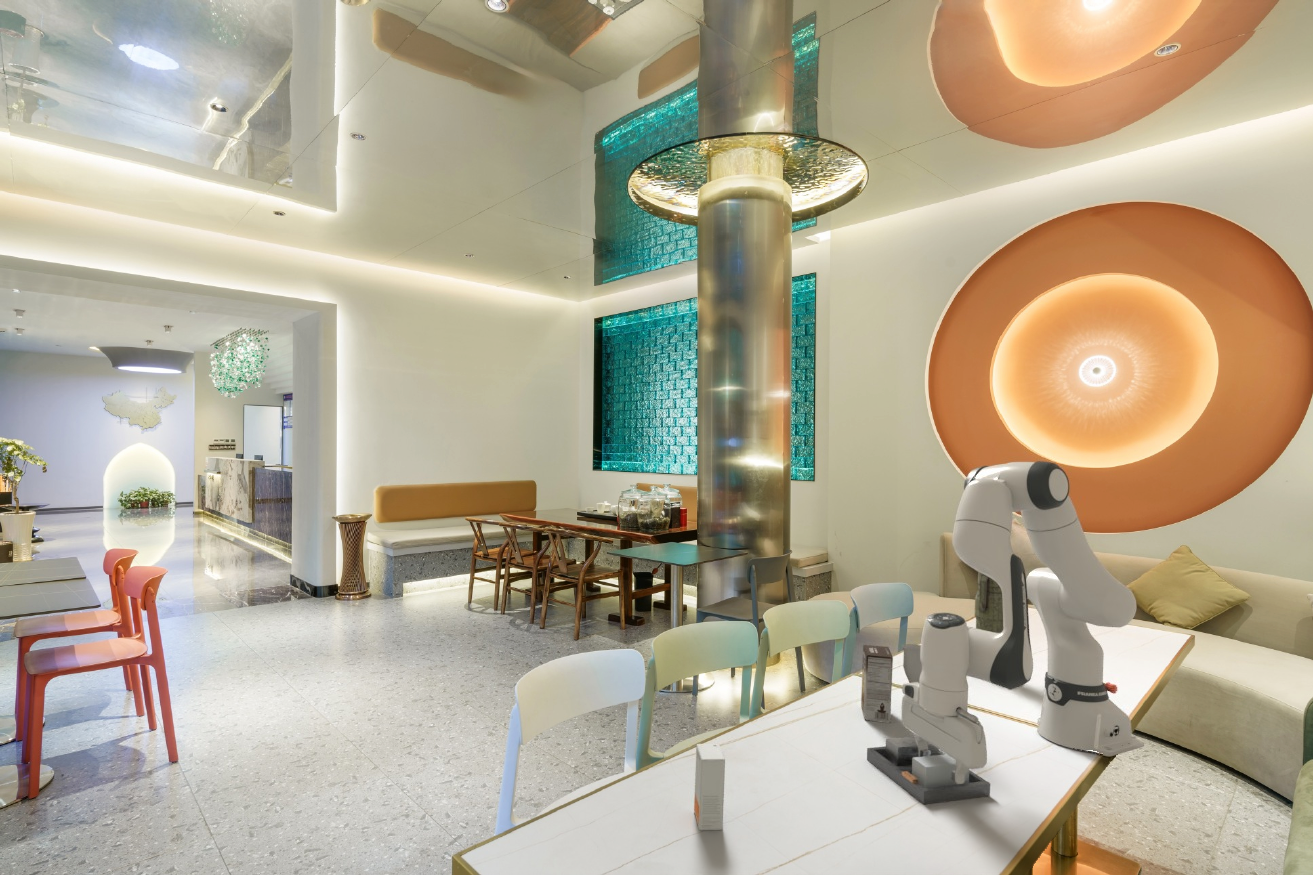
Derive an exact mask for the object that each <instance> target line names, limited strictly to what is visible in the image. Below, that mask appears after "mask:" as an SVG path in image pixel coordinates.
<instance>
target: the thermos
mask: <svg viewBox="0 0 1313 875" xmlns="http://www.w3.org/2000/svg"><path fill="white" fill-rule="evenodd" d="M977 572H978V573H977V584H978V586H977V587H978V588H977V592H976V594H975V597H974V618H975V628H976V629H981V630H985V631H990V632H995V633H1001V632H1002V631H1003V629H1004V628H1003V600H1002V591H1001V588H1000V586H999V585H998V583H997V582H996V581H994V580H993V579H991V578H990V577H988V576H986V575H984V574H982V573H980V572H979V571H977Z"/></svg>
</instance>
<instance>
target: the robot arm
mask: <svg viewBox="0 0 1313 875" xmlns="http://www.w3.org/2000/svg"><path fill="white" fill-rule="evenodd" d="M1069 480H1070V479H1069V477H1068V475H1067V473H1066V471H1065V470H1064V469H1063V468H1062V467H1060V466H1059V465H1058V464H1056V462H1055V463H1054V462H1049V461H1046V460H1045V461H1044V460H1043V461H1042V460H1039V461H1035V462H1034V461H1012V462H1007V463H1002V464H1001V463H1000V464H995V465H983V466H979V467H977V468H974V469H972V470H971V471H970V472H969V473H968V474H967V476H966V478H965V480H964V483H963V492H962V495H961V498H960V501H959V504H958V506H957V511H956V514H955V520H954V524H953V530H952V537H951V538H952V540H951V542H952V544H951V545H952V548H953V550H954V553H955V554H956V555H957V557H958V559H960V560H961V561H962V562H963V563H964V564H965V565H967V566H968V567H970V568H971V569H973V570H975V571H976V572H978V571H979V572H980V573H982V574H984V575H986V576H988V577H990V578H991V579H993V580H994V581H996V582H997V583H998V585H999V586H1000V588H1001V591H1002V600H1003V628H1004V629H1003V631H1002V632H1001V633H995V632H990V631H985V630H981V629H976V627H972V626H968V624H967V621H966V619H965V618H964V617H963V616H961V615H958V614H955V613H951V612H936V613H932V614H929V615H927V617H926V618H925V620H924V623H923V627H922V628H923V629H922V631H921V632H922V633H921V639H920V640H921V641H920V645H921V649H920V660H921V664H922V671H921V674H920V678H919V682H913V683H909V682H907V683H902V685H901V689H902V690H901V691H902V694H903V697H902V699H901V722H902V725H903V727H904V728H905V729H908V730H909V731H910V732H912V733H913V734H914V736H915V740H916V743H917V746H918V749H919V755H918V756H919V757H924V756H930V755H931V751H930V750H928V746H927V742H929V743H930V744H932V745H933V746H935V747H936V748H938V749H939V750H940V751H941V752H943V753H944V754H947V755H949V756H950V757H952V758H953V759H955V760H956V765H957V766H958V767H957V769H956V771H952V773H951V775H952V777H951V779H952V780H953V781H955V782H956V783H957V784H963V783H964V781H965V774H966V772H967V771H968V769H969V770H977V769H983V768H984V767H985V766H986V765H987V764H988V763H987V761H988V754H987V752H988V751H987V741H986V734H985V730H984V726H983V725H982V723H981V722H980V720H979V718H978V717H977V716H976V715H975V714H972V713H969V712H968V705H969V703H968V702H969V683H968V680H967V677H970V678H974V679H977V680H981V681H985V682H989V683H991V684H993V685H996V686H999V687H1002V688H1004V689H1006V690H1010V691H1011V690H1014V689H1018V688H1020V687H1022V686H1025V684H1027V683H1029V682H1030V681H1031V679H1032V674H1033V672H1034V659H1033V652H1032V646H1031V640H1030V639H1031V638H1030V637H1031V635H1030V622H1029V619H1030V618H1029V602H1028V601H1030V603H1031V604H1032V605H1033V606H1034V608H1035V609H1036V612H1037V613H1038V615H1039V617H1040V620H1041V622H1042V625H1043V629H1044V631H1045V636H1046V641H1047V671H1046V672H1045V676H1044V690H1045V691H1044V693H1043V699H1042V704H1041V712H1040V717H1039V718H1038V719H1037V724H1038V726H1037V732H1038V734H1039V735H1040V736H1042V738H1044V739H1046V740H1048V741H1050V742H1052V743H1054V744H1057V745H1060V746H1063V747H1066V748H1069V749H1073V748H1075V749H1074V750H1077V749H1082V750H1093V751H1097V752H1099V753H1103V755H1102V756H1105V757H1113V756H1117V755H1120V754H1123V753H1127V752H1130V751H1133V750H1137V749H1141V748H1143V747H1145V741H1144V740H1142V739H1141V738H1140V737H1138V736H1136V735H1135V734H1133V731H1132V722H1131V719H1130V717H1129V715H1128V714H1127V713H1126V712H1124V710H1122V709H1121V708H1120V707H1119V706H1118V705H1116V703H1115V702H1113V701H1112V700H1111V699H1110V697H1109V694H1108V692H1110V693H1111V694H1113V695H1114V694H1117V692H1118V688H1119V687H1118V686H1117V685H1116V684H1113V683H1110V682H1106V683H1105V682H1104V660H1105V659H1104V657H1105V656H1104V654H1105V653H1104V649H1103V647H1102V645H1101V644H1100V643H1099V641H1098V640H1096V639H1095V637H1094V636H1093V635H1092V633H1091V631H1090V630H1089V627H1088V625H1087V624H1090V625H1093V626H1097V627H1103V628H1104V627H1105V628H1106V627H1107V628H1123V627H1125V626H1127V625H1128V624H1129V623H1131V622H1132V620H1133V619H1134V617H1135V616H1136V612H1137V599H1136V597H1135V595H1134V593H1133V591H1132V590H1131V589H1130V588H1129V587H1128V586H1126V585H1124V584H1123V583H1122V582H1121V581H1120V580H1118V579H1117V578H1115V577H1114V575H1112V574H1111V572H1109V570H1108V569H1107V568H1106V567H1105V566H1104V564H1103V563H1102V562H1101V561H1100V559H1099V558H1098V557H1097V555H1096V554H1095V552H1094V551H1093V550H1092V547H1091V546H1090V544H1089V542H1088V540H1087V537H1086V535H1085V532H1084V529H1083V527H1082V525H1081V524H1082V523H1081V522H1080V519H1079V517H1078V514H1077V510H1076V507H1075V506H1074V504H1073V501H1072V499H1071V497H1070V495H1069V494H1070V481H1069ZM1017 512H1020V514H1021V518H1022V522H1023V526H1024V528H1025V530H1026V534H1027V536H1028V540H1029V542H1030V545H1031V547H1032V550H1033V553H1034V555H1035V556H1036V558H1037V559H1038V561H1040V563H1041V564H1042V565H1045V566H1046V567H1037V568H1035V569H1033V570H1031V571H1030V572H1029V573H1028V575H1027V576H1026V570H1025V567H1024V566H1025V565H1024V563H1023V561H1022V559H1021V557H1019V556H1018V555H1016V554H1015V553H1014V551H1013V548H1012V544H1011V535H1012V528H1013V527H1012V525H1013V513H1017ZM926 741H927V742H926ZM1122 745H1123V746H1122ZM1082 750H1081V751H1082Z"/></svg>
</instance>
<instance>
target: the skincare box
mask: <svg viewBox="0 0 1313 875" xmlns="http://www.w3.org/2000/svg"><path fill="white" fill-rule="evenodd" d="M695 754H696V755H695V774H694V775H695V778H694V800H693V801H694V802H693V803H694V804H693V805H694V806H693V811H694V815H695V818H696V819H695V820H696V822H697V823H696V824H697V826H698V830H699V831H722V830H723V828H724V827H723V826H724V801H725V800H724V798H725V778H726V777H725V774H726V773H725V771H726V770H725V768H726V759H725V756H724V752H723V750H722V748H721V745H720V744H719V743H697V744H696V751H695Z"/></svg>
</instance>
